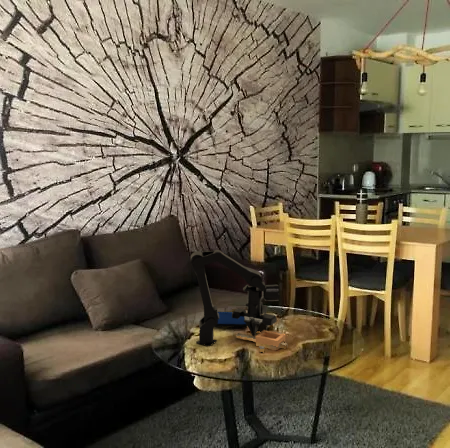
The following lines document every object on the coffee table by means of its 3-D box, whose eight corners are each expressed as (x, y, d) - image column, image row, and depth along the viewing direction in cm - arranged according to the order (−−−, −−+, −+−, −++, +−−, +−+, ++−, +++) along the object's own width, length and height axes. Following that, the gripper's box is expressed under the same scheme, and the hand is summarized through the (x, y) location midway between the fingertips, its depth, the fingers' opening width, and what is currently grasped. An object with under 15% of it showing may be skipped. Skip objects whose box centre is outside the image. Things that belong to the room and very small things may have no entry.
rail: (276, 356, 223) (277, 350, 223) (227, 345, 234) (227, 339, 234) (294, 341, 239) (294, 335, 238) (247, 331, 250) (247, 325, 250)
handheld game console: (247, 321, 263) (247, 302, 261) (246, 331, 250) (246, 312, 248) (214, 320, 264) (214, 301, 263) (211, 330, 251) (211, 311, 249)
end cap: (266, 335, 245) (266, 320, 244) (251, 334, 247) (251, 319, 246) (270, 327, 255) (271, 313, 253) (255, 326, 257) (255, 312, 255)
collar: (277, 351, 229) (277, 340, 228) (255, 346, 233) (255, 336, 233) (285, 344, 235) (285, 334, 235) (263, 340, 240) (263, 330, 239)
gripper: (282, 299, 237) (281, 334, 240) (243, 292, 246) (243, 325, 249) (271, 306, 228) (270, 342, 230) (231, 299, 237) (231, 333, 240)
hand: (253, 335), depth 238 cm, fingers closed
